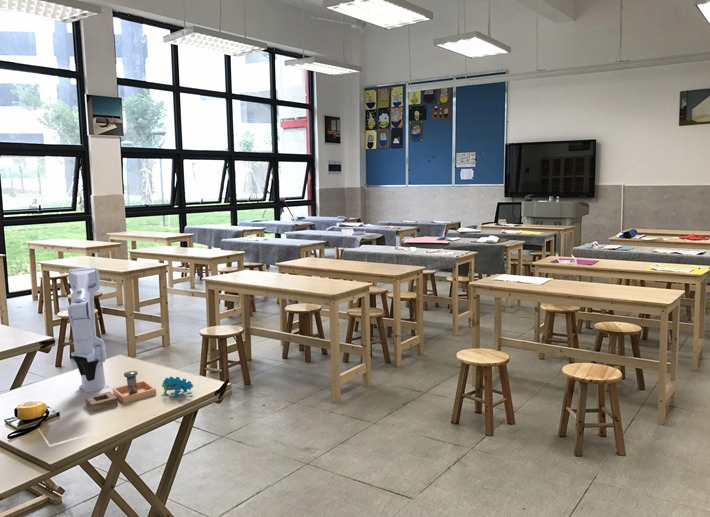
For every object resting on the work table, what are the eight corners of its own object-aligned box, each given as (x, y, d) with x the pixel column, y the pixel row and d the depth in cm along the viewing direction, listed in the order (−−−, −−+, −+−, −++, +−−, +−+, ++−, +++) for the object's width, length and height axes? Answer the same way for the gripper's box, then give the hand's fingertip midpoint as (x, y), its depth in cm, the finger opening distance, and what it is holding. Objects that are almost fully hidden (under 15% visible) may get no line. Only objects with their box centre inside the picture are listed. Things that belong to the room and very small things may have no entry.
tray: (113, 395, 211) (112, 388, 211) (145, 387, 218) (144, 380, 218) (123, 404, 203) (122, 397, 202) (156, 395, 209) (155, 388, 209)
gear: (198, 386, 212) (183, 373, 205) (194, 402, 209) (179, 390, 201) (172, 388, 216) (156, 376, 208) (167, 403, 212) (151, 392, 205)
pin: (125, 394, 210) (122, 373, 209) (137, 391, 213) (134, 369, 212) (129, 397, 207) (126, 376, 206) (141, 394, 210) (139, 372, 208)
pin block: (86, 406, 203) (85, 397, 202) (111, 399, 207) (110, 391, 207) (93, 413, 196) (91, 404, 196) (118, 406, 201) (117, 397, 201)
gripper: (64, 336, 203) (68, 375, 205) (76, 345, 192) (81, 386, 194) (86, 332, 207) (90, 370, 210) (99, 340, 196) (103, 380, 198)
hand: (87, 377), depth 202 cm, fingers open, 7 cm apart
